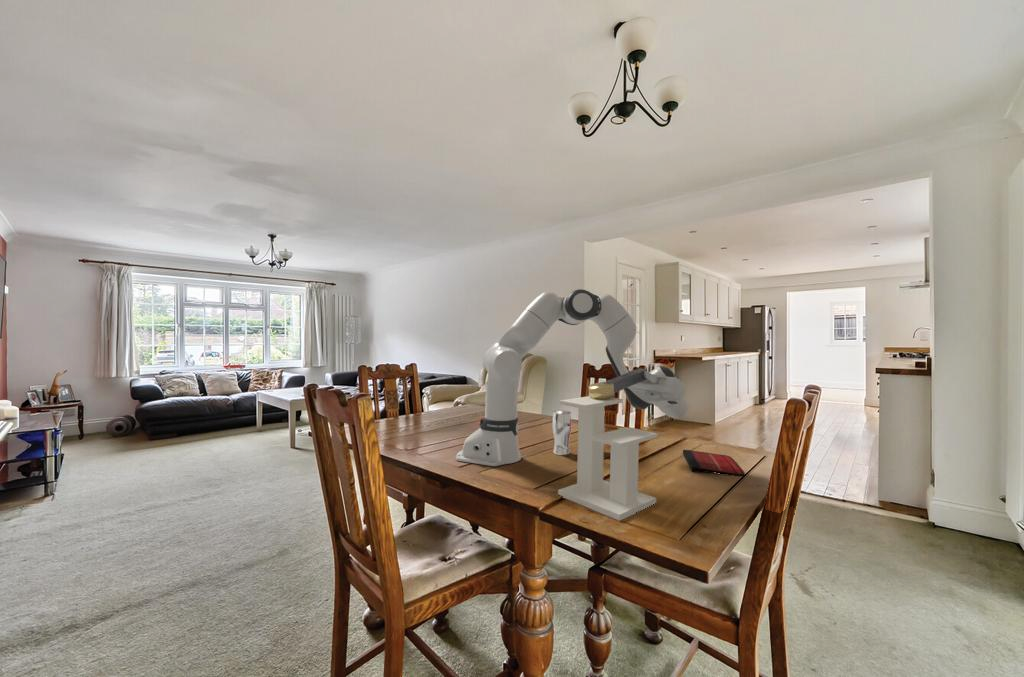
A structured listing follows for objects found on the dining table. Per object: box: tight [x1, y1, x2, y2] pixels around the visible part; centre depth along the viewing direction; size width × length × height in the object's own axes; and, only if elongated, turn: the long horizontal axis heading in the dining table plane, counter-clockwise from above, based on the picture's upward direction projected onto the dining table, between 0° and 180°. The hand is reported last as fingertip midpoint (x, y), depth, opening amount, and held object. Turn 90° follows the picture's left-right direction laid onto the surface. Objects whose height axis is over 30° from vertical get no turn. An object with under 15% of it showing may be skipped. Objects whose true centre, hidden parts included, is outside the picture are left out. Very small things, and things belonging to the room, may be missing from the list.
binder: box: [682, 449, 745, 477], centre depth 147 cm, size 16×2×21 cm
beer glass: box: [552, 409, 573, 456], centre depth 158 cm, size 7×7×15 cm
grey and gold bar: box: [588, 367, 648, 400], centre depth 128 cm, size 24×7×3 cm, turn 130°
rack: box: [557, 395, 659, 522], centre depth 116 cm, size 16×20×26 cm
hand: (638, 372), depth 134 cm, fingers closed on grey and gold bar, 3 cm apart
